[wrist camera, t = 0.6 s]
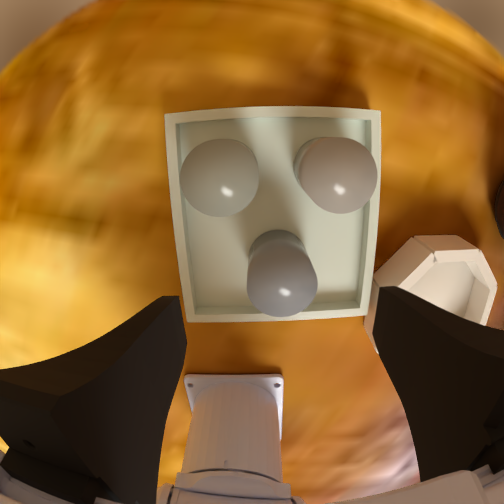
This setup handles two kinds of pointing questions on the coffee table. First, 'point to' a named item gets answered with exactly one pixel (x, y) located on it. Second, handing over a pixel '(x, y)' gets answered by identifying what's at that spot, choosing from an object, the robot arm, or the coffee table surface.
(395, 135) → the coffee table surface
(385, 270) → the bowl
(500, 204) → the mate gourd
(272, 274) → the grey rounded cylinder
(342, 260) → the tray
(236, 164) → the pebble
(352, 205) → the pebble
